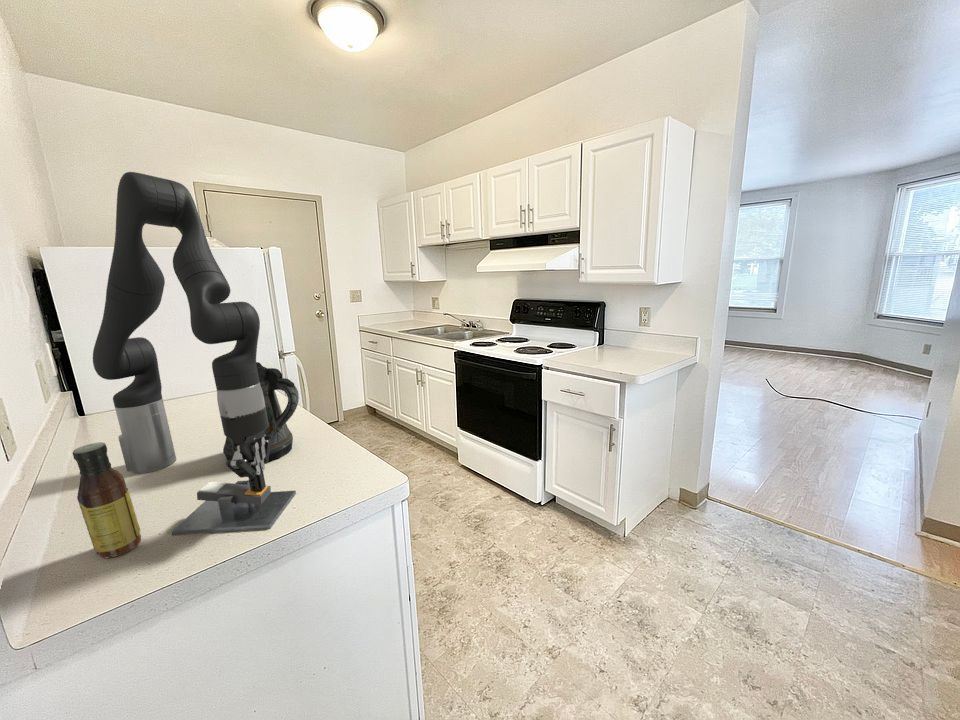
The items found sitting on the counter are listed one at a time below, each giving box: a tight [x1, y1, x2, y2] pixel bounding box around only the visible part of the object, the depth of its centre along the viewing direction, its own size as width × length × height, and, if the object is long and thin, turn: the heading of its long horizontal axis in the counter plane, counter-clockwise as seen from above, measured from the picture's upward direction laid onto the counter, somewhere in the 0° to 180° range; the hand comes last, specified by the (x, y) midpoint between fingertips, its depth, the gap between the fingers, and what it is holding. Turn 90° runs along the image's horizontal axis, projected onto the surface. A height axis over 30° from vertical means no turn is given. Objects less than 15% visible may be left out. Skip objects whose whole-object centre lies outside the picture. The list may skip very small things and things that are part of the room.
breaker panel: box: [170, 479, 297, 536], centre depth 79 cm, size 18×12×5 cm, turn 93°
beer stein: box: [222, 361, 300, 464], centre depth 105 cm, size 16×19×25 cm
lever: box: [196, 481, 272, 504], centre depth 79 cm, size 12×4×2 cm, turn 93°
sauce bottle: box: [72, 441, 142, 559], centre depth 68 cm, size 6×6×20 cm
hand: (258, 490), depth 79 cm, fingers closed
